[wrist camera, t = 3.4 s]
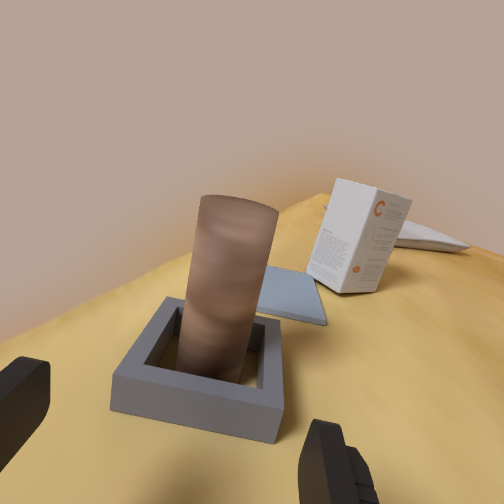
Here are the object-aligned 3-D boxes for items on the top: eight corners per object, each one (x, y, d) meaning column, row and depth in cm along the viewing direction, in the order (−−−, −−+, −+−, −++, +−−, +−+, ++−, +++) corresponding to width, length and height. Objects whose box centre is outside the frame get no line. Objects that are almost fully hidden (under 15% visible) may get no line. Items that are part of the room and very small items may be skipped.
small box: (340, 273, 48) (373, 187, 45) (376, 293, 44) (415, 199, 40) (303, 272, 43) (336, 176, 40) (338, 294, 39) (379, 187, 35)
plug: (242, 358, 25) (278, 206, 21) (236, 403, 20) (279, 222, 17) (184, 345, 25) (209, 191, 21) (165, 388, 20) (192, 203, 17)
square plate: (318, 216, 93) (321, 203, 92) (392, 226, 102) (396, 214, 101) (378, 249, 69) (384, 232, 68) (468, 259, 78) (475, 244, 77)
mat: (311, 278, 44) (312, 274, 43) (324, 325, 32) (326, 320, 32) (223, 260, 43) (224, 256, 43) (207, 300, 32) (207, 295, 32)
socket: (273, 346, 27) (280, 320, 26) (274, 444, 18) (284, 410, 17) (163, 322, 27) (166, 296, 26) (109, 409, 18) (112, 374, 17)
